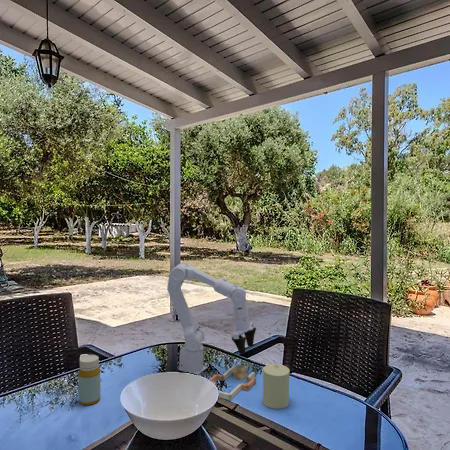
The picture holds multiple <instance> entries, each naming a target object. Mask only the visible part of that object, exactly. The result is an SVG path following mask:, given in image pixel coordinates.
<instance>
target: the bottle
mask: <svg viewBox="0 0 450 450" xmlns="http://www.w3.org/2000/svg"><path fill="white" fill-rule="evenodd" d="M99 359H100V358H99V355H96V354H87V355H83V356H82V357H80V359H79V371H78V402H79V404H81V405H83V406H92V405H95V404H97V403H98V402H99V401H100V399H101V369H100V364H99V363H100V360H99Z"/></svg>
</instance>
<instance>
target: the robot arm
mask: <svg viewBox="0 0 450 450" xmlns="http://www.w3.org/2000/svg"><path fill="white" fill-rule="evenodd" d="M185 280H186V281H191V280H197V281H199V282H201V283H204V284H206V285H208V286H210V287H212V288H213V289H214V292H216V293H218V294H219V295H222V296H224V297H226V298H228V299H230V300H231V302H232V303H233V304H232V306H233V315H234V322H235V330H234V332H233V333H232V336H231V341H232V342H233V343H234V345H235V346H236V348H237V350H238V351H237V352H238V353H239V355H245V354H246V344H247V347H254V339H255V334H256V331H257V328H256V327H254V321H250V315H249V307H248V302H247V291H246V289H245V288H244V287H243V286H242V285H238V284H236V283H235V284H234V283H232V282H230V281H228V280H227V278H225V277H224V278H221V277H220V278H218V279H217V278H214V276H211V275H209V274H208V273H206V272H204V271H202V270H201V269H199V268H197V267H195V266H194V265H191V264H188V263H186V262H180V263H178V264H177V265H176V266H174V267H172V268H171V270H170V272H169V274H168V281H167V287H166V288H167V289H166V290H167V292H168V295H169V297H170V299H171V302H172V304H173V307H174V310H175V311H176V314H177V316H178V317H177V318H178V319H179V321H180V325H181V327H182V329H183V338H184V346H182V347H181V348H180V351H179V368H178V371H182V372H185V373H187V372H189V374H191V373H194V374H197V375H196V376H198V375H200V374H201V373H202V372H204V371H205V370H207V369H208V366H206V365H204V345H203V342H204V340H205V339H204V338H205V335H204V332H203V331H202V330H201V329H200V327H199V325H198V324H197V323H196V322H195V320H194V317H193V315H192V312H191V311H190V308H189V306H188V303H187V301H186V298H185V296H184V293H183V290H182V289H181V288H182V286H183V284H184V282H185ZM243 334H244V336H243ZM194 374H193V375H194Z"/></svg>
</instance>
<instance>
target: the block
mask: <svg viewBox="0 0 450 450" xmlns="http://www.w3.org/2000/svg"><path fill="white" fill-rule="evenodd" d="M233 367H234V368H233V373H232V376H233V377H232V378H233V379H236V380H241V381H243V380H244V379H245V378H246V377H247V376H248V375H247V373H248V366H246V365H242V364H239V363H238V364H236V365H235V366H233Z"/></svg>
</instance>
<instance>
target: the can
mask: <svg viewBox="0 0 450 450" xmlns="http://www.w3.org/2000/svg"><path fill="white" fill-rule="evenodd" d="M262 371H263V372H262V374H263V375H262V377H263V378H262V381H263V382H262V403H263V405H264V406H266V407H268V408H270V409H274V410H275V409H276V410H280V409H285V408H287V407H288V406H289V405H290V399H289V398H290V397H289V396H290V371H291V370H290V368H289V367H287V366H286V365H283V364H280V363H279V364H278V363H270V364H266V365H265V366H264V367H263V368H262Z"/></svg>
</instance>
